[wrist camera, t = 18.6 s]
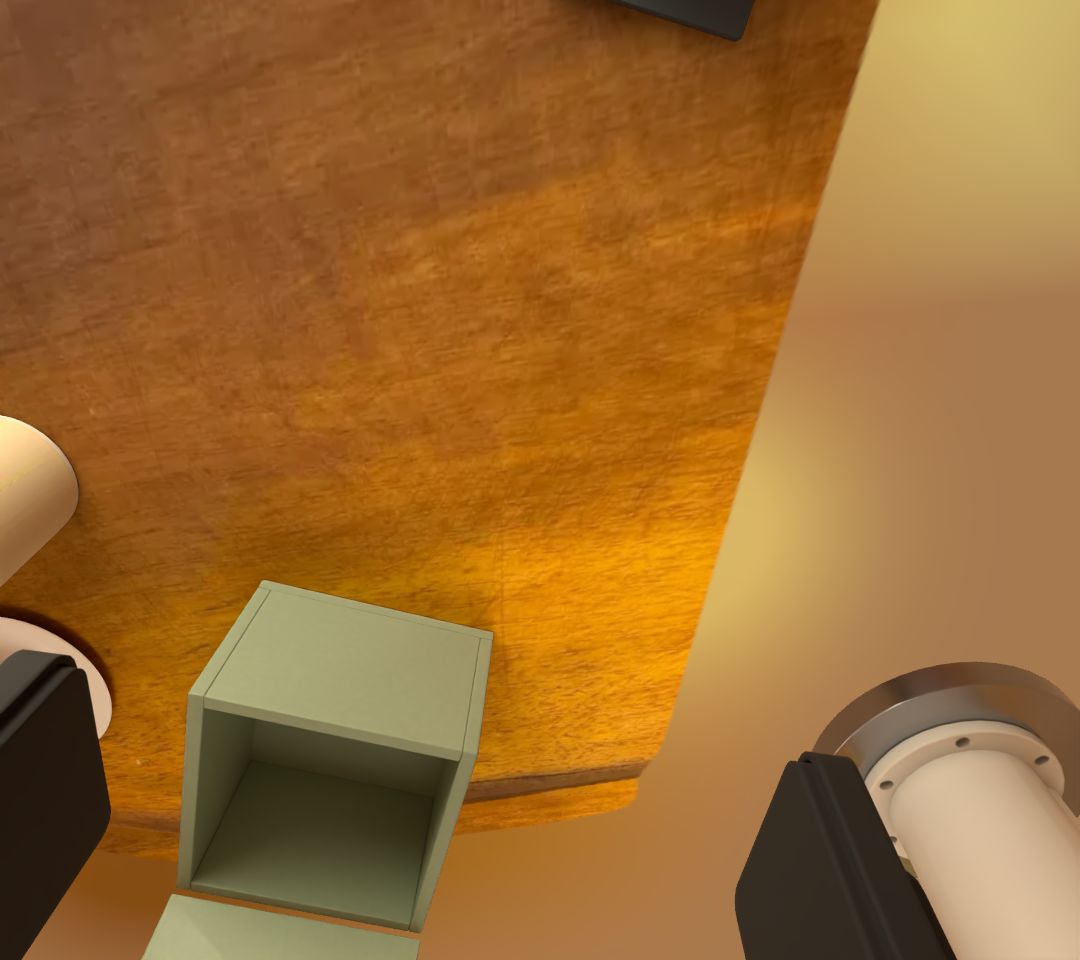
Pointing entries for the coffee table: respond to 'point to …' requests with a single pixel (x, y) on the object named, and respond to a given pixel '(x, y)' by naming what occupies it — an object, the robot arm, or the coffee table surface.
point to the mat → (699, 14)
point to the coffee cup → (31, 493)
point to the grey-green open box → (330, 756)
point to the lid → (263, 936)
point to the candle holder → (15, 635)
